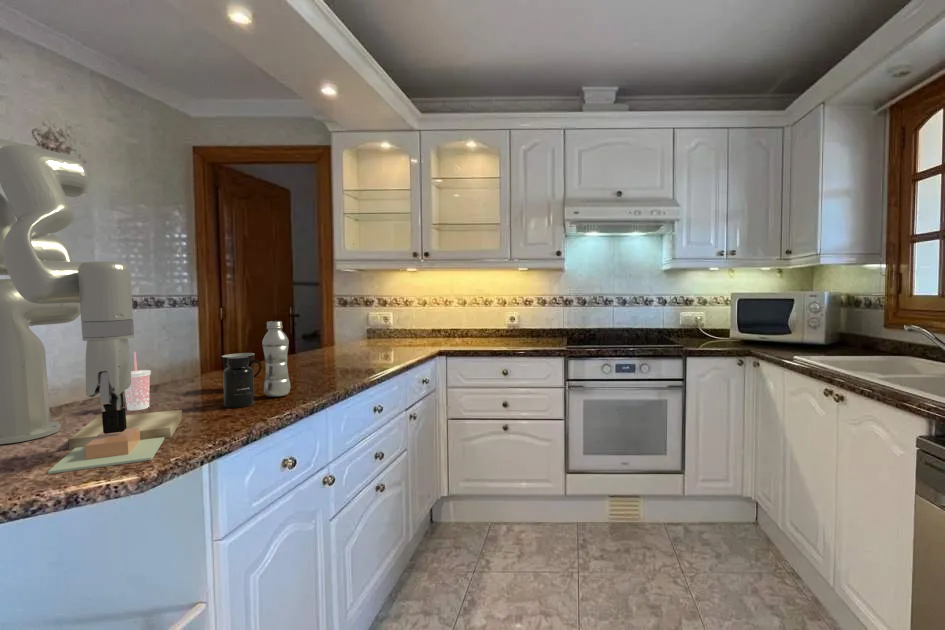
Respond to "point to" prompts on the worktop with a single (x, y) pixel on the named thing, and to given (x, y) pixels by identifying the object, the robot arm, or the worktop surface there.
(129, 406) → the beverage cup
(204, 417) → the worktop surface
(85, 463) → the sage mat
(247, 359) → the supplement bottle
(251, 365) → the coffee mug
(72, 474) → the worktop surface
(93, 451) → the terracotta tile
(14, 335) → the robot arm
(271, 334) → the plastic bottle
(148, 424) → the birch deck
